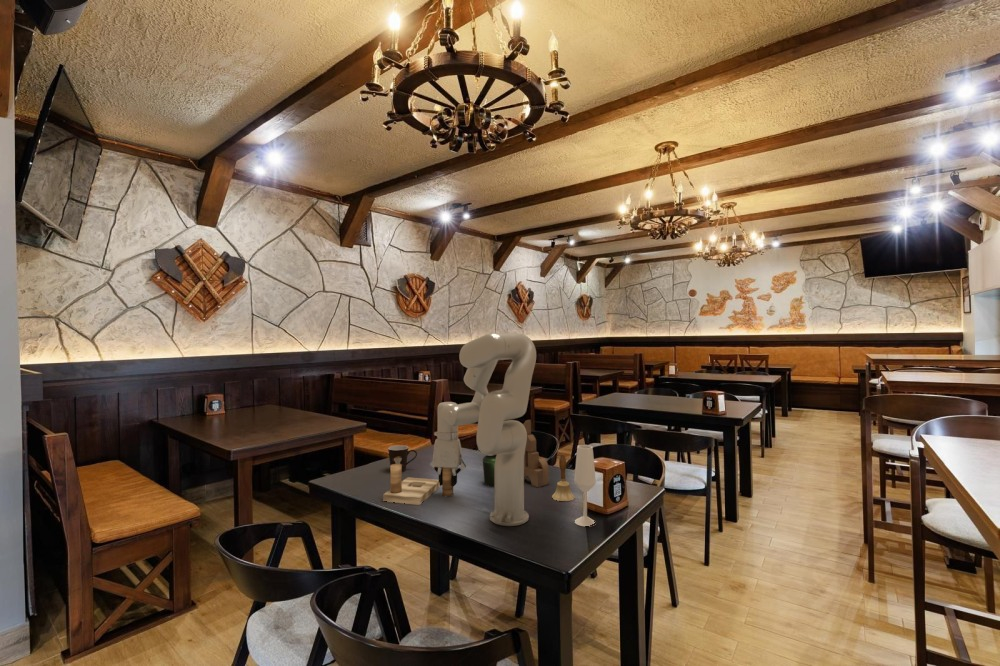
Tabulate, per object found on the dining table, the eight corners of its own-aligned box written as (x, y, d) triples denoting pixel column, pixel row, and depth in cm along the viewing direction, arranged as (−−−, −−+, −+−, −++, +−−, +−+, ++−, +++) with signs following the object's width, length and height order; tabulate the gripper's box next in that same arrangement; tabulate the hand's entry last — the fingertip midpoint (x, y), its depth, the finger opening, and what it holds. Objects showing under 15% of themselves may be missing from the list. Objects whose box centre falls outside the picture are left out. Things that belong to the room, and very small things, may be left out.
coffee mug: (384, 472, 198) (384, 449, 198) (394, 467, 206) (394, 444, 206) (408, 475, 195) (408, 451, 195) (418, 469, 203) (418, 446, 203)
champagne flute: (570, 519, 148) (570, 445, 148) (587, 516, 151) (587, 443, 151) (582, 528, 142) (582, 450, 142) (600, 524, 145) (600, 447, 144)
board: (419, 505, 161) (419, 470, 161) (383, 501, 164) (383, 467, 164) (440, 486, 180) (440, 455, 180) (407, 483, 184) (407, 453, 184)
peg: (451, 497, 169) (451, 464, 169) (440, 496, 170) (440, 463, 170) (454, 493, 173) (454, 461, 173) (444, 492, 174) (444, 460, 174)
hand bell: (565, 503, 162) (565, 458, 162) (547, 498, 168) (547, 454, 168) (579, 497, 168) (579, 454, 168) (560, 492, 174) (560, 450, 174)
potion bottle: (488, 479, 189) (488, 435, 189) (506, 482, 185) (506, 437, 185) (478, 485, 182) (478, 439, 182) (496, 488, 178) (496, 441, 178)
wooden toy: (549, 484, 183) (549, 421, 183) (537, 487, 179) (537, 423, 179) (523, 474, 195) (523, 415, 195) (511, 478, 191) (511, 417, 191)
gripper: (422, 436, 169) (422, 486, 170) (466, 439, 165) (466, 490, 165) (430, 432, 177) (430, 480, 177) (472, 434, 173) (472, 483, 173)
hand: (447, 484), depth 171 cm, fingers closed on peg, 4 cm apart
